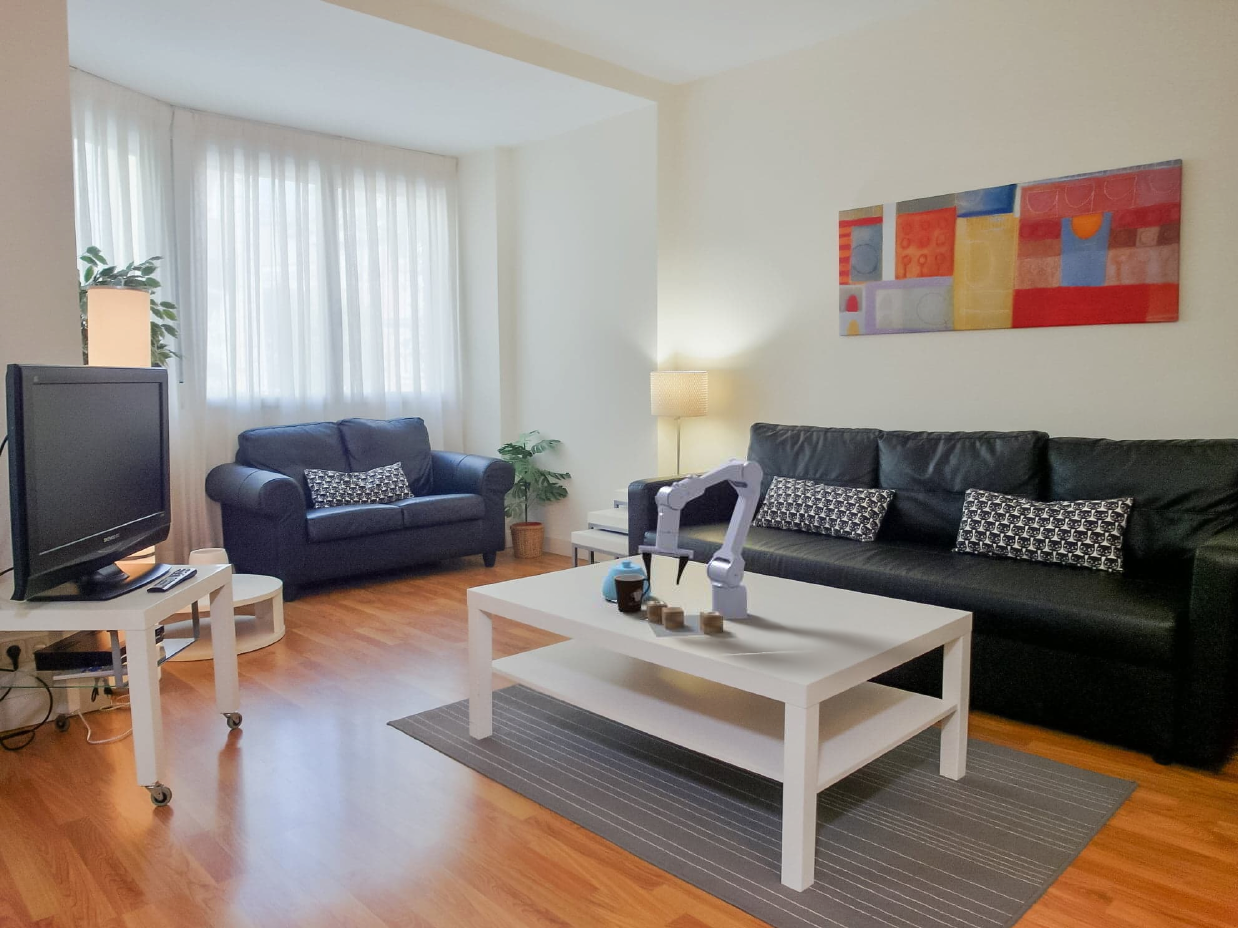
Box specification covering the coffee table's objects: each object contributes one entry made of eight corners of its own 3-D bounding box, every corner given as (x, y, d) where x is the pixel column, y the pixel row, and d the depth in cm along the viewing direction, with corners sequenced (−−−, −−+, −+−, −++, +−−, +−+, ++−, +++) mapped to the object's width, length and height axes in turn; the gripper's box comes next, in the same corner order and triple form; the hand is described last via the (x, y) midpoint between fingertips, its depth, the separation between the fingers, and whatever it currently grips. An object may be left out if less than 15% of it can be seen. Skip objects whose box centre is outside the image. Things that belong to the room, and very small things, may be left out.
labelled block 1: (664, 616, 246) (664, 599, 246) (667, 621, 241) (667, 603, 241) (646, 617, 245) (646, 600, 245) (649, 622, 240) (649, 604, 240)
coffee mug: (619, 616, 248) (618, 581, 248) (611, 609, 257) (610, 575, 256) (658, 613, 252) (658, 578, 251) (649, 606, 260) (649, 572, 259)
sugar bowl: (652, 592, 278) (652, 556, 277) (649, 604, 263) (649, 565, 262) (605, 592, 279) (604, 556, 278) (599, 603, 264) (598, 565, 263)
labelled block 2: (718, 627, 234) (718, 610, 233) (723, 633, 229) (723, 614, 228) (700, 628, 233) (699, 610, 233) (704, 633, 228) (704, 615, 228)
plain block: (680, 623, 239) (680, 606, 239) (683, 627, 234) (683, 611, 234) (661, 623, 238) (661, 607, 238) (665, 628, 233) (665, 612, 233)
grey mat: (708, 615, 248) (707, 614, 248) (725, 634, 228) (725, 633, 228) (644, 618, 246) (644, 617, 246) (656, 638, 226) (656, 636, 226)
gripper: (639, 530, 232) (635, 582, 232) (695, 535, 230) (690, 587, 231) (641, 528, 239) (636, 578, 239) (694, 533, 238) (690, 583, 238)
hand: (663, 582), depth 235 cm, fingers open, 7 cm apart
